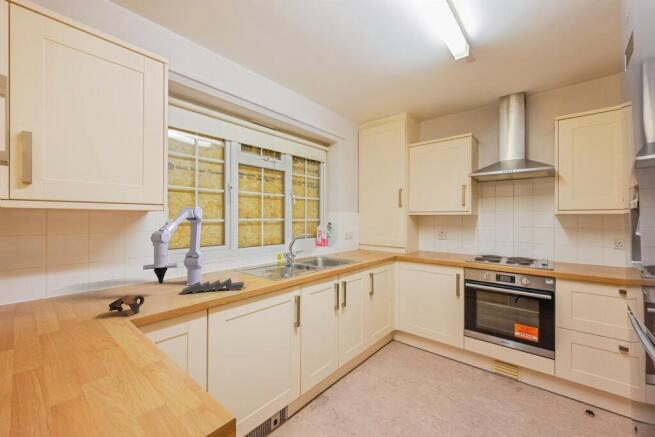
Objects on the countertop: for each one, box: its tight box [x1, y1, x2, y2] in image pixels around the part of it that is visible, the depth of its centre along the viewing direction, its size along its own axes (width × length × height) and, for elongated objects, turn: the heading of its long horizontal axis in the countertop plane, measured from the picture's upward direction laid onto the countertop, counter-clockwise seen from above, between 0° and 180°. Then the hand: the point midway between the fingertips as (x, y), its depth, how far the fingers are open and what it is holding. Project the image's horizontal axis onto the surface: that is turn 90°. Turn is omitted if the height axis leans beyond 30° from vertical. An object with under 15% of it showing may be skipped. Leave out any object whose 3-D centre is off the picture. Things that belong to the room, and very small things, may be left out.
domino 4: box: [214, 277, 233, 292], centre depth 147 cm, size 5×2×8 cm
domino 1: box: [181, 282, 201, 295], centre depth 142 cm, size 5×2×8 cm
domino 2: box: [191, 280, 211, 294], centre depth 143 cm, size 5×2×8 cm
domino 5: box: [225, 281, 245, 290], centre depth 148 cm, size 5×2×8 cm
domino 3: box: [202, 279, 222, 293], centre depth 145 cm, size 5×2×8 cm
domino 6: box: [228, 284, 247, 291], centre depth 150 cm, size 5×2×8 cm
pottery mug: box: [107, 294, 145, 318], centre depth 113 cm, size 12×10×8 cm
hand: (161, 283), depth 137 cm, fingers closed
